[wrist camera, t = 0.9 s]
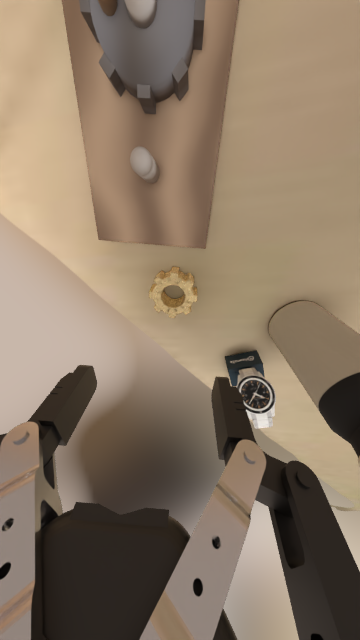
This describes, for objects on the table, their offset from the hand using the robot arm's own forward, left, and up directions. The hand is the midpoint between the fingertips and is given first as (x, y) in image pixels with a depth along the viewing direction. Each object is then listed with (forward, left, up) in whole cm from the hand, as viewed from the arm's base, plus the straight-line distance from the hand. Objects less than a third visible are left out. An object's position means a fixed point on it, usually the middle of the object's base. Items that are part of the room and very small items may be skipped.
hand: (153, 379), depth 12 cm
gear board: (+3, -16, -17) cm, 23 cm away
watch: (-13, +13, -17) cm, 25 cm away
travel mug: (-19, +4, -17) cm, 26 cm away
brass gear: (0, 0, -17) cm, 17 cm away
